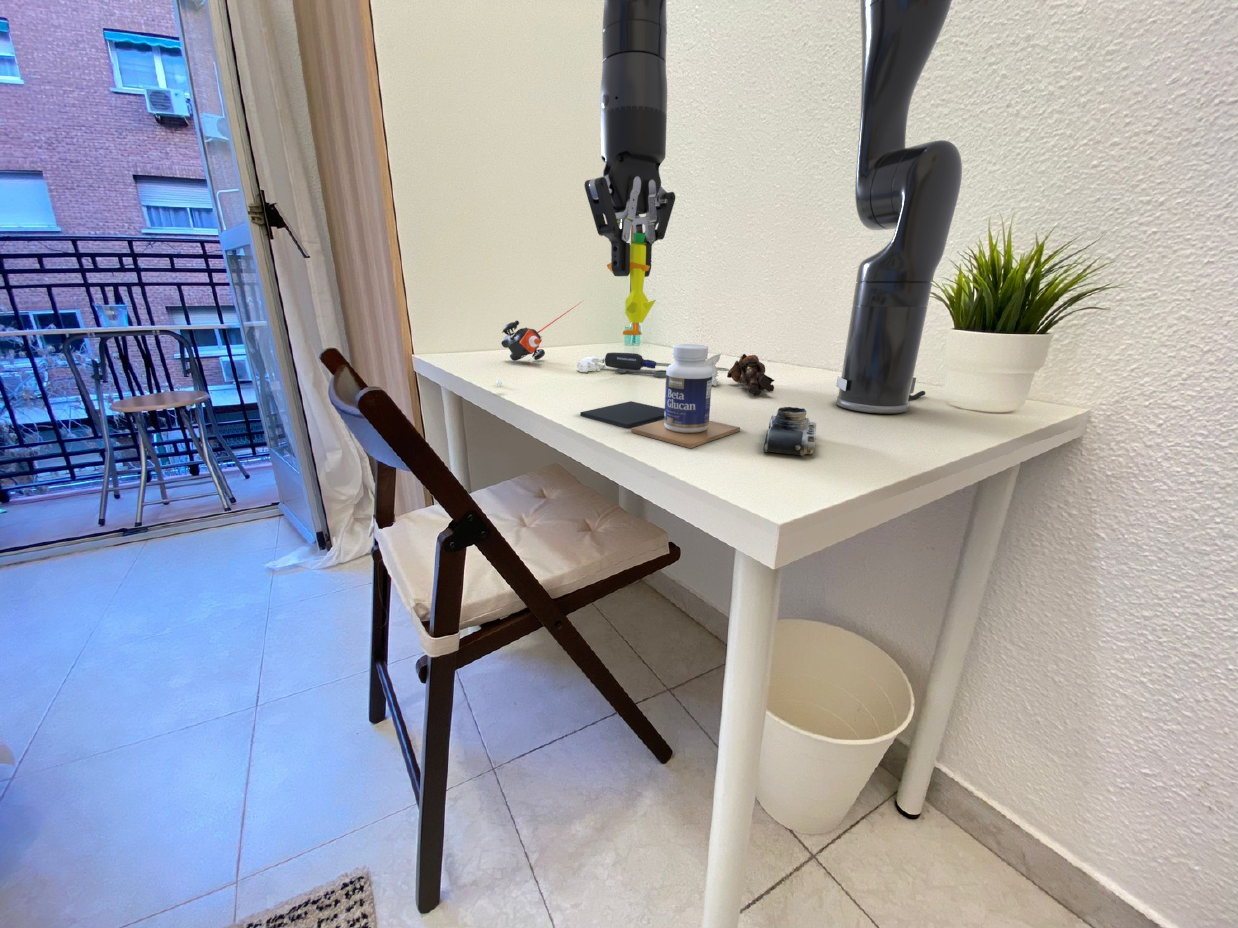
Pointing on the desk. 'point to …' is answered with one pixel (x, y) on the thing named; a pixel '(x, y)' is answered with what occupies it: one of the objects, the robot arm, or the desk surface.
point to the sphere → (499, 383)
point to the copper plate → (685, 439)
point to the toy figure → (636, 285)
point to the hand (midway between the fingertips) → (631, 275)
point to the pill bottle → (688, 390)
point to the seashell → (713, 367)
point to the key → (644, 372)
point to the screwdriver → (634, 362)
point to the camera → (790, 432)
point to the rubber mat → (626, 414)
